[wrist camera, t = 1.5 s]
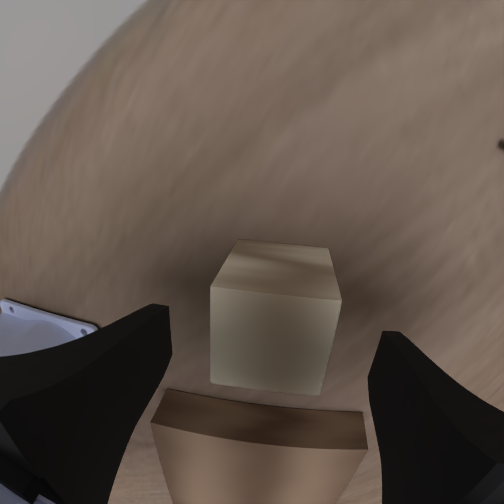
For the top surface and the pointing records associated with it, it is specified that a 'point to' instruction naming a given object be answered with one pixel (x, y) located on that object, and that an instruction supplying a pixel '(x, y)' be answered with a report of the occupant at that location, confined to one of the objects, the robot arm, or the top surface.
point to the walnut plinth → (255, 451)
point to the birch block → (273, 317)
